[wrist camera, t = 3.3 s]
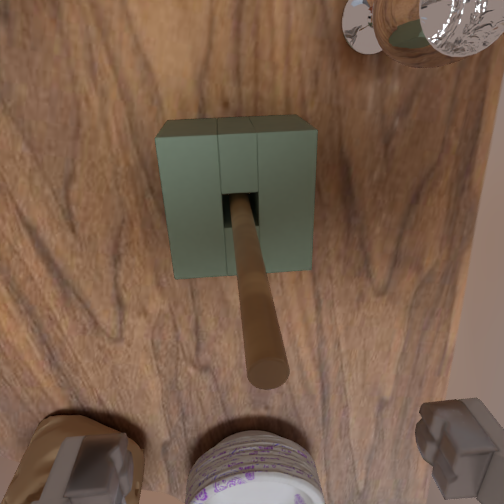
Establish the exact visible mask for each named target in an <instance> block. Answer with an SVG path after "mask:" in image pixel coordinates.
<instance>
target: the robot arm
mask: <svg viewBox="0 0 504 504" xmlns="http://www.w3.org/2000/svg"><path fill="white" fill-rule="evenodd" d="M419 413H420V415H421V417H422V419H421V420H420V421H419V422H418V423H417V424H416V429H415V436H416V443H417V446H418V449H419V451H420V453H421V455H422V457H423V459H424V460H425V461H426V462H428V463H429V464H430V465H432V466H433V471H432V477H433V478H434V480H435V482H436V484H437V486H438V488H439V490H440V491H441V493H442V495H443V497H444V499H445V500H447V499H459V498H472V497H477V498H476V499H477V500H478V501H479V502H480V503H481V504H504V429H503V428H502V427H501V425H500V424H499V423H498V422H497V420H496V419H495V418H494V417H493V415H492V414H491V413H490V411H489V410H488V409H487V408H486V406H485V405H484V404H483V403H482V401H481V400H479V399H478V398H469V399H459V400H456V399H455V400H445V401H437V402H428V403H423V404H422V405H421V407H420V411H419ZM127 445H128V438H127V435H126V433H113V434H99V435H85V436H73V437H66V438H65V440H64V441H63V442H62V443H61V446H60V448H59V451H58V453H57V456H56V459H55V461H54V464H53V466H52V469H51V471H50V474H49V476H48V479H47V481H46V484H45V487H44V489H43V492H42V494H41V497H40V499H39V500H38V501H33V502H32V503H31V504H126V501H125V497H126V496H127V495H128V494H129V492H130V491H131V488H132V482H133V470H134V465H133V457H132V453H131V452H130V451H129V450H128V449H127Z"/></svg>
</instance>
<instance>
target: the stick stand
mask: <svg viewBox="0 0 504 504" xmlns="http://www.w3.org/2000/svg"><path fill="white" fill-rule="evenodd" d="M317 136H318V130H317V129H316V128H314V127H313V126H312V125H310V124H309V123H307V122H306V121H305V120H303V119H302V118H301V117H299V116H298V115H296V114H293V115H271V116H249V117H227V118H206V119H184V120H167V122H166V123H165V124H164V126H163V127H162V129H161V130H160V131H159V133H158V134H157V136H156V137H155V145H156V152H157V159H158V166H159V173H160V180H161V187H162V194H163V201H164V208H165V215H166V222H167V229H168V236H169V243H170V250H171V257H172V264H173V271H174V278H175V279H189V278H203V277H217V276H227V275H228V276H234V275H237V271H236V261H235V251H234V241H233V232H232V222H231V212H230V202H229V195H222V194H232V193H249V192H251V194H248V197H249V202H250V206H251V210H252V214H253V218H254V223H255V227H256V231H257V235H258V239H259V243H260V248H261V252H262V256H263V260H264V264H265V269H266V273H275V272H289V271H303V270H311V269H312V249H313V226H314V204H315V181H316V159H317Z"/></svg>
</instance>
